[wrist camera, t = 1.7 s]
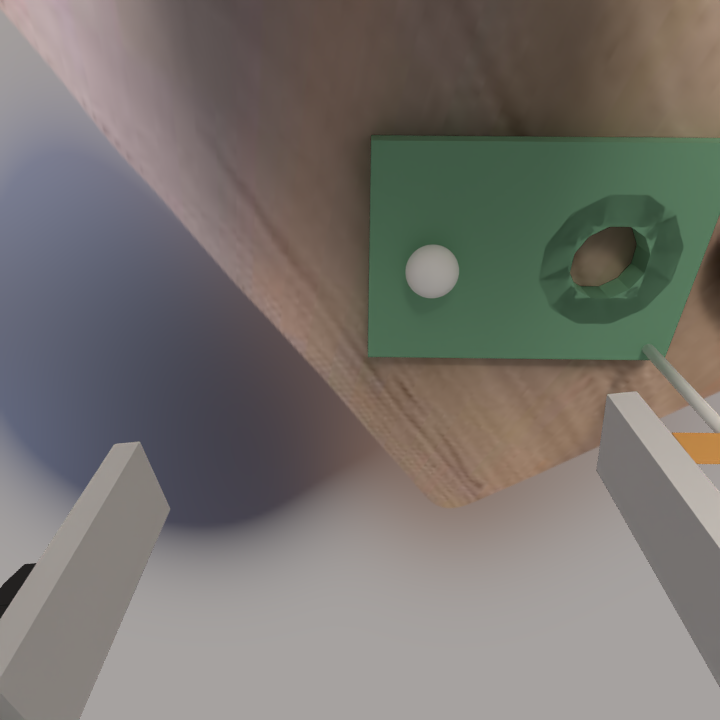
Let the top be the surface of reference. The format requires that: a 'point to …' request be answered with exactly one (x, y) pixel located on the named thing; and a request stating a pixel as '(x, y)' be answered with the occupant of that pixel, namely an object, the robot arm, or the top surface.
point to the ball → (432, 271)
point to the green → (541, 248)
